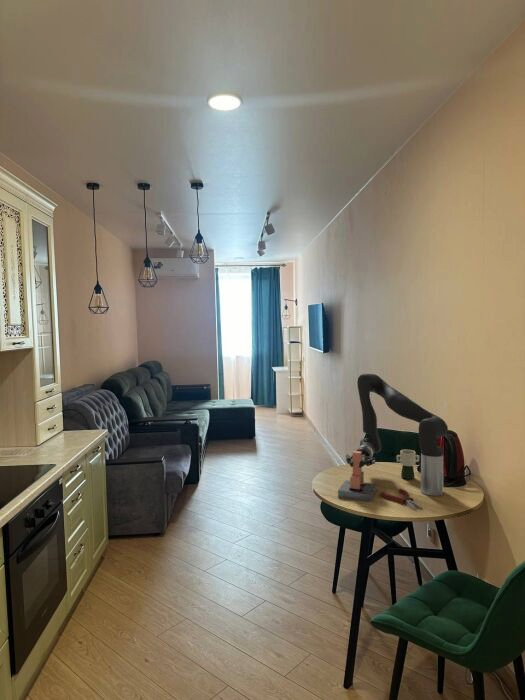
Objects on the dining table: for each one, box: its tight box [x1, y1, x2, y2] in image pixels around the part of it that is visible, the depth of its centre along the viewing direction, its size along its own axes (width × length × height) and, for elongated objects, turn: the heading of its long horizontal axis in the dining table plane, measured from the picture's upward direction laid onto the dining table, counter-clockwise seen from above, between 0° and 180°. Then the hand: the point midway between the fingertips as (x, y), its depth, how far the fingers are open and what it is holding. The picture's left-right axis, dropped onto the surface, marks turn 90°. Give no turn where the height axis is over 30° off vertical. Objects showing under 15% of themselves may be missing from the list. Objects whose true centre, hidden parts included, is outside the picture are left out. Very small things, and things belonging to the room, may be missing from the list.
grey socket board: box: [337, 479, 377, 502], centre depth 203 cm, size 14×14×3 cm
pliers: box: [379, 488, 423, 511], centre depth 194 cm, size 12×20×3 cm, turn 19°
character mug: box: [396, 449, 420, 480], centre depth 223 cm, size 11×7×13 cm, turn 87°
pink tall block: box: [349, 450, 365, 489], centre depth 203 cm, size 4×9×15 cm, turn 156°
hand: (355, 465), depth 200 cm, fingers closed on pink tall block, 3 cm apart
